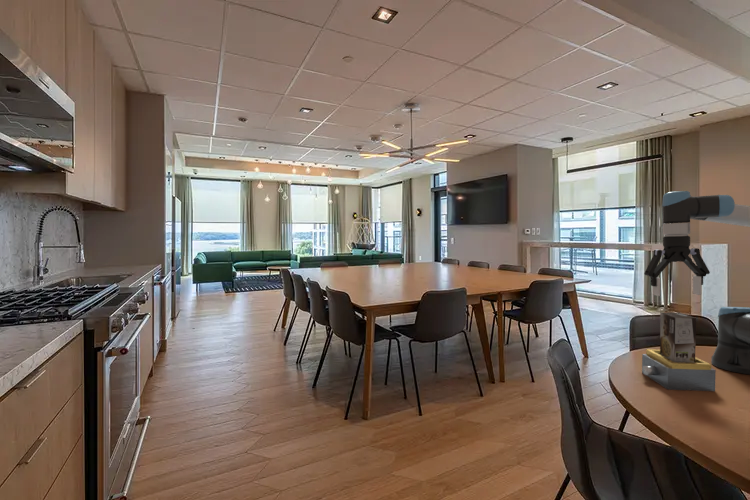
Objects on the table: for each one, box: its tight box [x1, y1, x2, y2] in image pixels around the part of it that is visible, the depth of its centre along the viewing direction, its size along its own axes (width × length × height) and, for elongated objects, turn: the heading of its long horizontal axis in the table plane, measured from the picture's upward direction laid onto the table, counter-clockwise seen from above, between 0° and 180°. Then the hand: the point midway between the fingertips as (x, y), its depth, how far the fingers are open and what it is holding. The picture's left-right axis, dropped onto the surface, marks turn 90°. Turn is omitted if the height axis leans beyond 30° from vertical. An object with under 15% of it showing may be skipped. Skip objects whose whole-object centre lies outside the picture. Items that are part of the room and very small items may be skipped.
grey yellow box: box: [641, 348, 717, 392], centre depth 127 cm, size 17×14×9 cm
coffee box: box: [659, 311, 697, 363], centre depth 126 cm, size 9×6×16 cm
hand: (676, 295), depth 131 cm, fingers open, 13 cm apart
